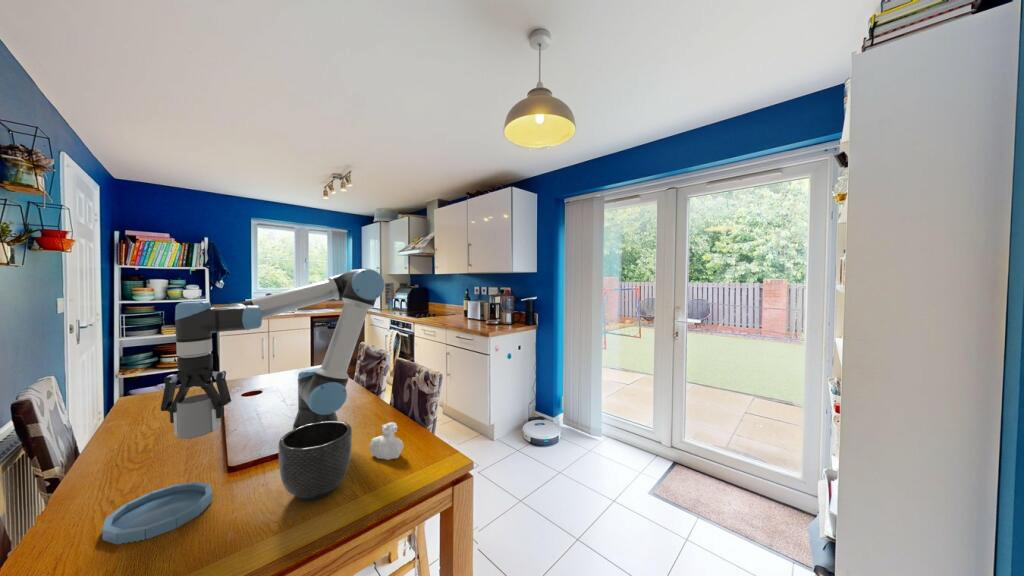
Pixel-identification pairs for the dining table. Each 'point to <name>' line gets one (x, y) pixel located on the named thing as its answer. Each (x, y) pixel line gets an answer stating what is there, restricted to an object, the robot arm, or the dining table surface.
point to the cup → (194, 416)
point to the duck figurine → (387, 443)
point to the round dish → (157, 512)
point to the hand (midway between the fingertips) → (198, 430)
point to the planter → (315, 458)
